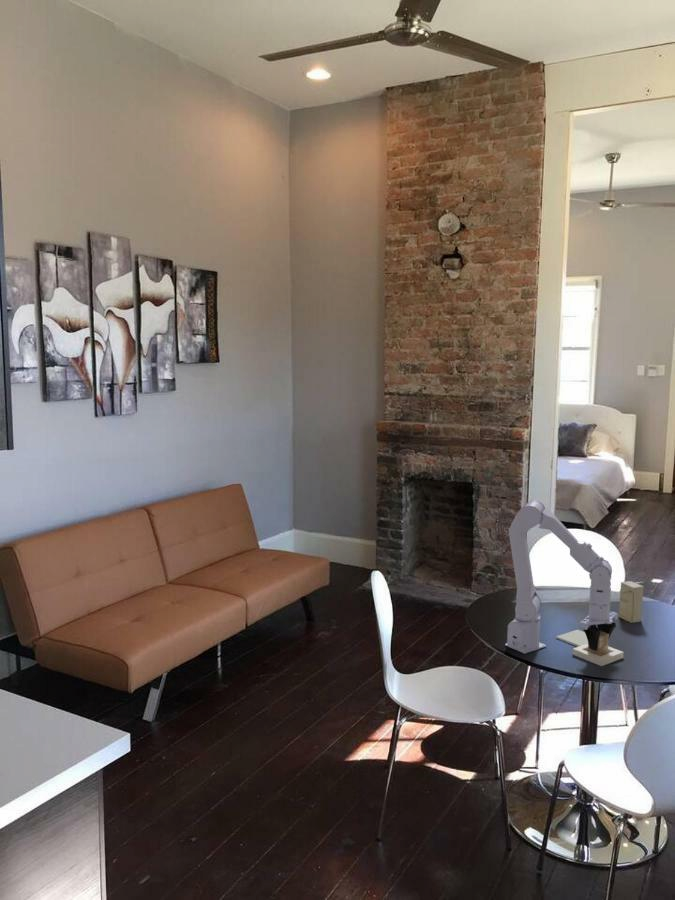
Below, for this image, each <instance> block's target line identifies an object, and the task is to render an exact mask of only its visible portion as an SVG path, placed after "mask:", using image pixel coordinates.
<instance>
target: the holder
mask: <svg viewBox="0 0 675 900" xmlns="http://www.w3.org/2000/svg"><path fill="white" fill-rule="evenodd" d="M624 653H625V652H624V651H622V650H619V649H616V648H614V647H612V646H609V645H608V654H606V655H603V656H598V655H595V654H593V653H590V652H588V644H585V645H582V646H579V647H577V646H575V647H574V648H572V655H573V656H576V657H578V658H580V659H582V660H585V661H586V662H587V661H588V662H590V663H592V664H595V665H597V666H600V667H604V666H606V665H608V664H611V663H614V662H616V661H619V660H621V659H624Z"/></svg>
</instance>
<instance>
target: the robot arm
mask: <svg viewBox="0 0 675 900" xmlns="http://www.w3.org/2000/svg"><path fill="white" fill-rule="evenodd" d="M537 525H539V526H538V529H541V530H542V529H543V530H548V531H550V532H551V533H552V534H554V536H556V537H557V538H558V539H559V540H560V541H561V542H562V543H563V544H564V545H565V546H567V547H568V549H569V556H570V557H572V559H573V560H574V561H575V562H577V564H578V565H580V567H581V568H582V569H583V570H584V571H585V572H587V573H588V576H589V579H590V586H589V603H588V604H589V605H588V608H589V609H588V615H587V616H586V617H585V618H584V619H583V620H581V621H579V622H580V623H579V628H580V629H582V630H583V632H585V634H586V637H587V640H588V644H589V648H590V649H592V650H594V651H596V650H597V647H598V640H599V636H600V634H601V632H605V633H608V634H609V639H610V637H611V636H612V633H613V632H614V629H615V628H616V626H617V624H616V623H615V622H613V620H614V621H617V620H618V618H619V612H618V613H617V612H615V611H611V599H612V598H611V596H612V587H611V585H612V582H611V580H612V573H613V568H612V565H611V564H610V562H609V561H608V560H607V559H604V557H603V556H600V555H599V554H598V553H597V552H596V551H595V550H594V549H593V545H591V543H589V542H588V543H587V542H586V541H585V540H583V541H581V540H578V539H577V538H576V537H575V536H574V534H572V532H571V531H570V530H569V529H568V528H567V527H566V526H565V525H564V524H563V523H562V522H561V520H560V519H559V518H557V516H556V515H555V514H554V513H553V512H552V510H550V509H549V508H548V507H547V506H546V507H545V505H544V504H543V503H542V502H541V501H539V500H536V499H532V500H530V501H528V502H526V504H524V505H523V506H522V507H521V508H520V509H519V511H518V512H517V513H516V514H515V517H514V518H513V520H512V522H511V525H510V527H509V529H508V536H509V543H510V550H511V555H512V563H513V569H514V570H513V571H514V577H515V584H516V597H515V598H516V604H515V607H514V608H515V609H514V611H515V617H514V619H513V620H512V621H510V622H509V623H508V625H507V635H506V636H507V639H506V643H505V644H504V645H505V646H506V647H508V648H511V649H513V650H515V651H517V652H520V653H522V654H528V653H530V652H531V653H532V652H534V651H537V650H540V649H543V648H546V647H547V645H546V644H544V643H542V642H540V635H541V633H540V632H541V615H540V613H539V609H540V608H541V606H542V600H541V598H540V596H539V594H538V593H537V589H536V586H535V584H534V580H533V579H534V578H533V572H532V565H531V558H530V553H529V546H528V539H527V537H528V536H527V534H528V532H529V531H530V530H531V529H533V528H534V527H536V526H537Z"/></svg>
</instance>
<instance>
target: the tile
mask: <svg viewBox="0 0 675 900" xmlns="http://www.w3.org/2000/svg"><path fill="white" fill-rule="evenodd" d="M555 638H556V640H560V641H563V642H565V643H567V644H570V645H572V646H575V647H579V646H582V645H585V644H588V640H587V637H586V634H585V632H584V630H583V631H582V630H580V629H576V630H571V631H569V632H566V633H563V634H560V635H556V637H555Z"/></svg>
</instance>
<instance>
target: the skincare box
mask: <svg viewBox="0 0 675 900" xmlns="http://www.w3.org/2000/svg"><path fill="white" fill-rule="evenodd" d="M644 587H645V586H644V585H642V584H639V583H636V582H634V581H632V580H629V581H621V582H620V593H619V606H618V607H619V609H618V618H621V619H623V620H624V621H626V622H628V621H629V622H628V623H630V624H633V623H640V621H641V622H642V614H643V613H642V612H643V599H644Z"/></svg>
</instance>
